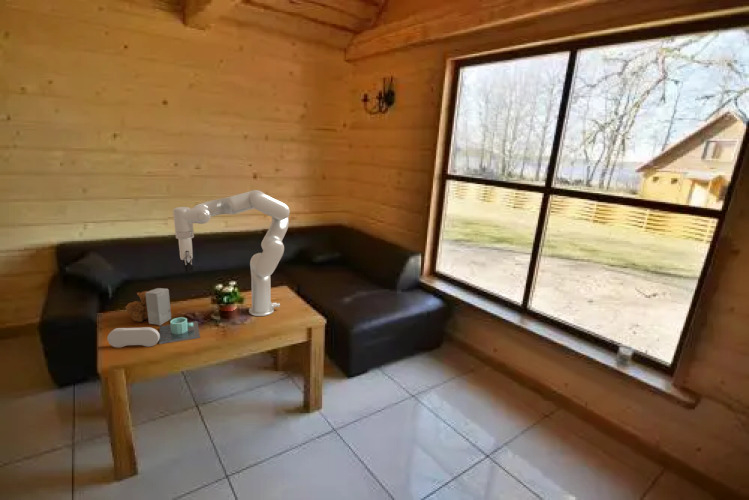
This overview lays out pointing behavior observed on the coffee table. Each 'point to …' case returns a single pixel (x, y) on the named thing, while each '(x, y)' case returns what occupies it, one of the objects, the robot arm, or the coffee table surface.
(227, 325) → the coffee table surface
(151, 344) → the game controller
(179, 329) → the teal cup
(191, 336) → the grey plate with knob
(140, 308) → the stuffed squirrel
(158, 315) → the skincare box
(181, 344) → the coffee table surface
